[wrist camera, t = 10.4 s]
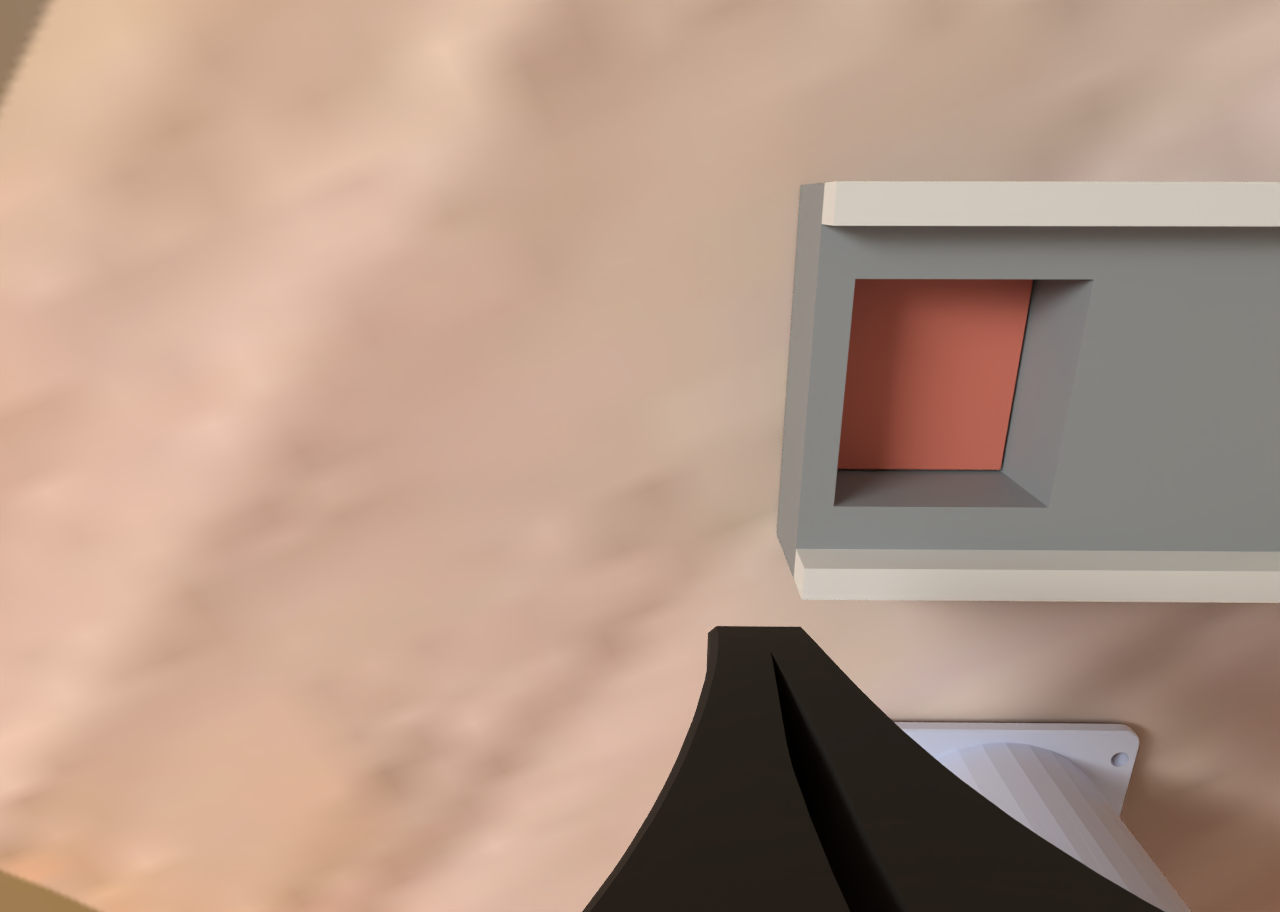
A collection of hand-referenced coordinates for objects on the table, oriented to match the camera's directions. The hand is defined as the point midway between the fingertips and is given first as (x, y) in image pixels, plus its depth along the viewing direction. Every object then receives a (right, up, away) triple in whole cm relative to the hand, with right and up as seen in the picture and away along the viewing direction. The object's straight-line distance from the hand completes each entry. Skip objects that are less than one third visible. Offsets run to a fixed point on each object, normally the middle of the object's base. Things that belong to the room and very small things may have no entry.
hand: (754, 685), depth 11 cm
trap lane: (+14, +5, +8) cm, 17 cm away
